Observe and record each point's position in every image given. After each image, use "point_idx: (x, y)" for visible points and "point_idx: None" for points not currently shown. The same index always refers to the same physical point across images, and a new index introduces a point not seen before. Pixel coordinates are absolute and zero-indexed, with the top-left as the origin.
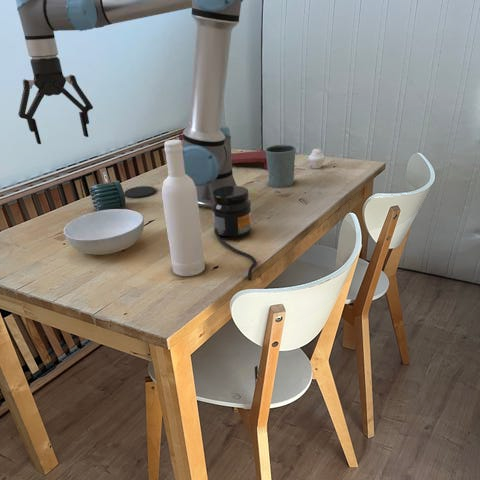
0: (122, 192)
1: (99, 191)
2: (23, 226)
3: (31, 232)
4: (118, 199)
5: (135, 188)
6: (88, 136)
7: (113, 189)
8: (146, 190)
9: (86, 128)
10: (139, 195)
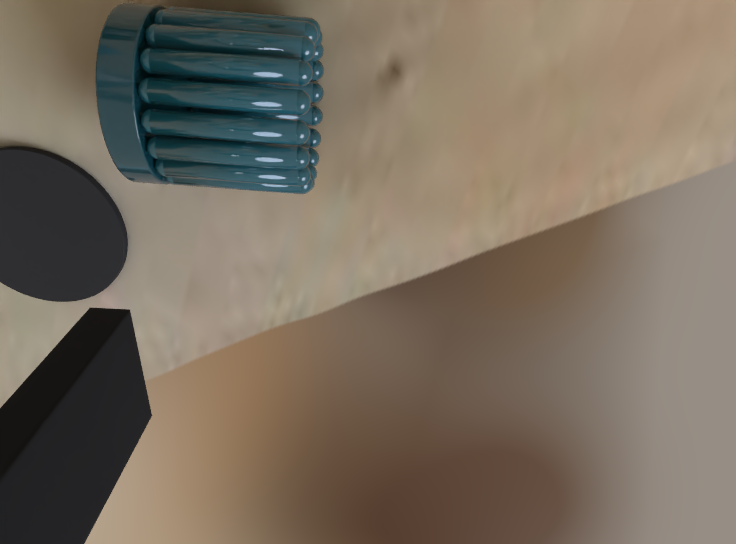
0: (120, 11)
1: (270, 57)
2: (690, 155)
3: (712, 32)
4: (173, 7)
5: (57, 284)
6: (89, 311)
7: (168, 48)
8: (1, 218)
9: (24, 394)
10: (49, 166)
